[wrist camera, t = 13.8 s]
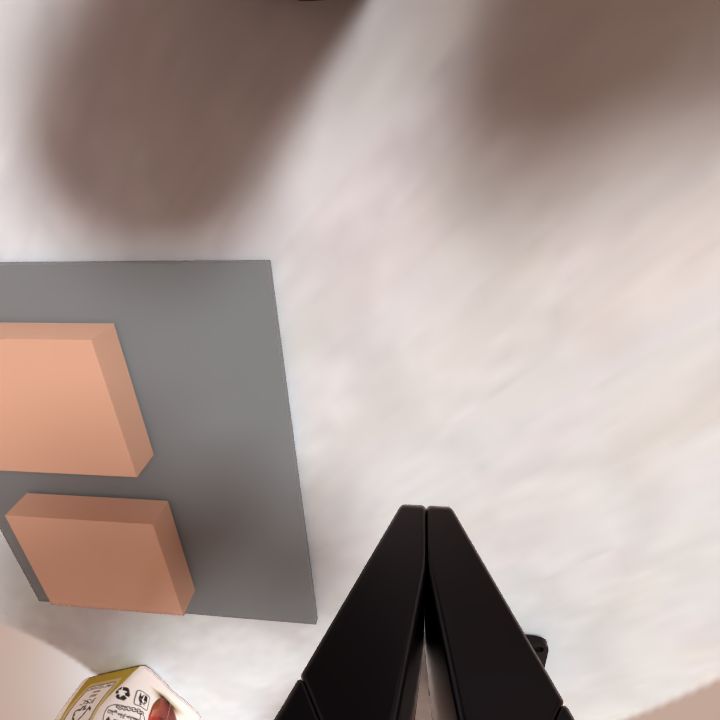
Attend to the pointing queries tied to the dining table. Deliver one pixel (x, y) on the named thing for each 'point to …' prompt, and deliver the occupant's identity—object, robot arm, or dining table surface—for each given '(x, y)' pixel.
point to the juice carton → (126, 698)
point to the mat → (190, 420)
